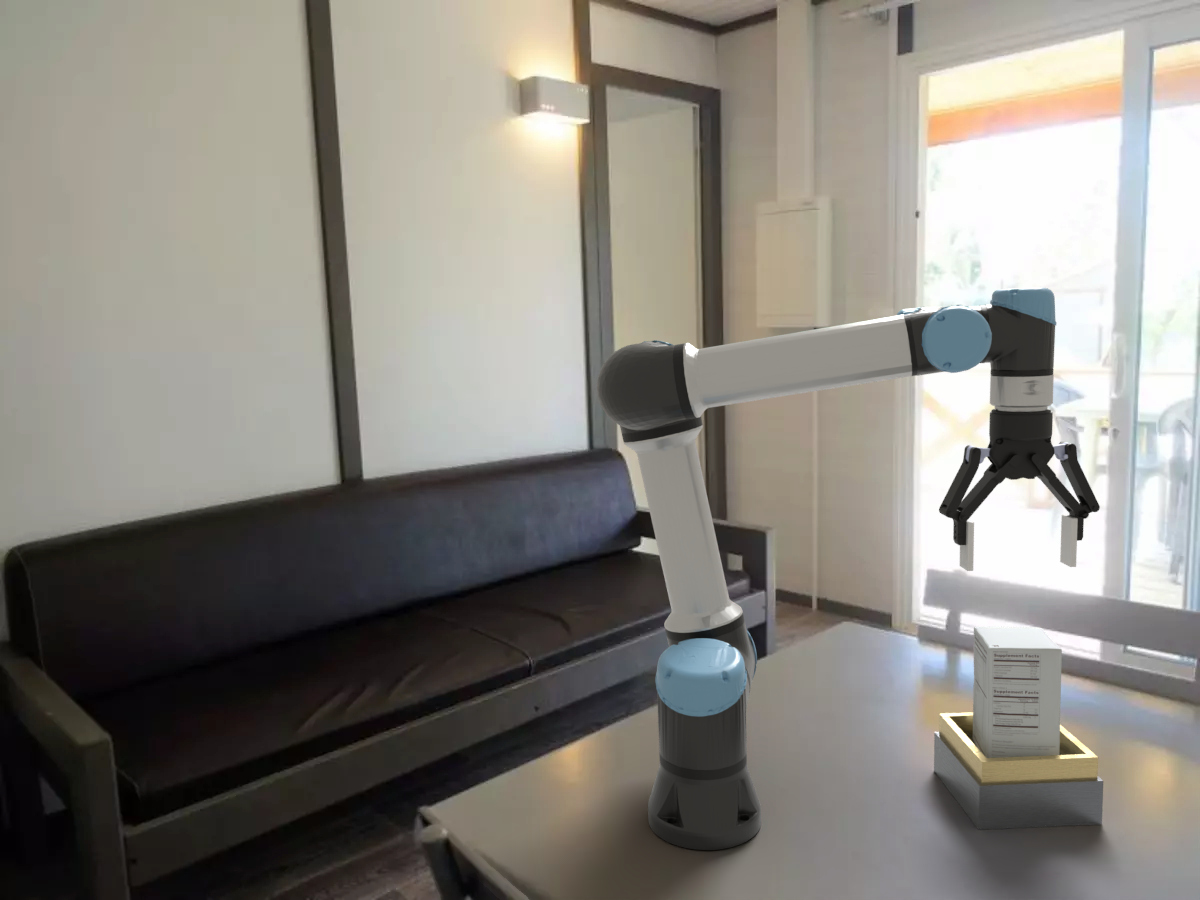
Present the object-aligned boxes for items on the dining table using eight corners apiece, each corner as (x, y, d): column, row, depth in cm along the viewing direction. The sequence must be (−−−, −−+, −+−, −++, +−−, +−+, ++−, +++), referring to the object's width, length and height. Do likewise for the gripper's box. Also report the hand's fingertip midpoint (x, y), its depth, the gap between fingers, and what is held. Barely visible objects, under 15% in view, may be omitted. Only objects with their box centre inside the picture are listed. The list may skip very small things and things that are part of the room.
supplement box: (1060, 772, 123) (1064, 649, 121) (986, 769, 125) (989, 648, 122) (1039, 740, 132) (1042, 625, 130) (970, 738, 134) (972, 624, 132)
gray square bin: (978, 829, 121) (979, 763, 120) (934, 770, 137) (934, 712, 136) (1101, 824, 121) (1104, 758, 120) (1042, 766, 137) (1044, 707, 136)
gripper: (935, 414, 118) (934, 577, 121) (1132, 406, 118) (1126, 570, 121) (915, 408, 126) (914, 562, 128) (1100, 401, 126) (1095, 555, 129)
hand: (1017, 566), depth 125 cm, fingers open, 13 cm apart
